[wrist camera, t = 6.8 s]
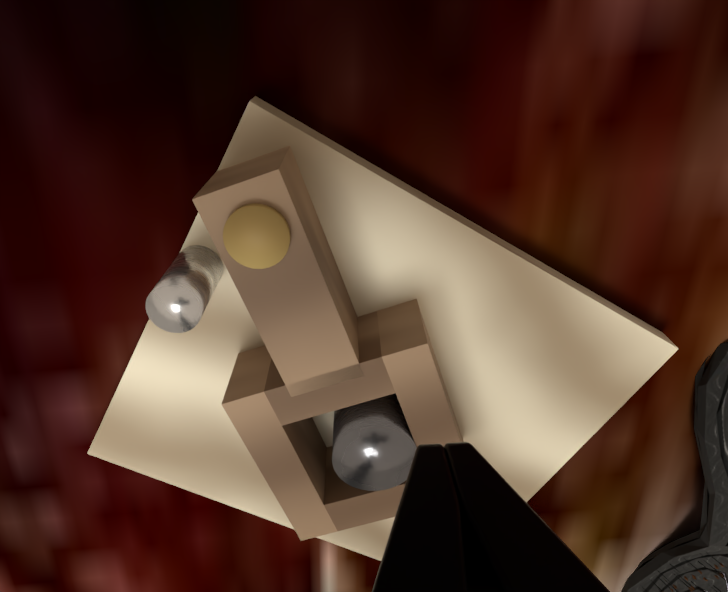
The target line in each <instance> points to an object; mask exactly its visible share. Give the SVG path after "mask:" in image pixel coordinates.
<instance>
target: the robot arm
mask: <svg viewBox="0 0 728 592" xmlns="http://www.w3.org/2000/svg"><path fill="white" fill-rule="evenodd" d="M372 592H610V591H609V590H608V589H607V588H606V587H605V586H604V585H603V584H602V583H601V582H600V581H599V580H598V578H597V577H596V576H595V575H594V574H593V573H592V572H591V571H590V570H589V569H588V568H587V567H586V566H585V565H584V564H583V562H582V561H581V560H580V559H579V558H578V557H577V556H576V555H575V554H574V553H573V552H572V551H571V550H570V549H569V548H568V546H567V545H566V544H565V543H564V542H563V541H562V540H561V539H560V538H559V537H558V536H557V535H556V534H555V533H554V532H553V531H552V529H551V528H550V527H549V526H548V525H547V524H546V523H545V522H544V521H543V520H542V519H541V518H540V517H539V516H538V515H537V513H536V512H535V511H534V510H533V509H532V508H531V507H530V506H529V505H528V504H527V503H526V502H525V501H524V500H523V499H522V497H521V496H520V495H519V494H518V493H517V492H516V491H515V490H514V489H513V488H512V487H511V486H510V485H509V484H508V483H507V481H506V480H505V479H504V478H503V477H502V476H501V475H500V474H499V473H498V472H497V471H496V470H495V469H494V468H493V467H492V466H491V464H490V463H489V462H488V461H487V460H486V459H485V458H484V457H483V456H482V455H481V454H480V453H479V452H478V451H477V450H476V448H475V447H474V446H473V445H472V444H470V443H468V442H454V443H446V444H445V445H444V447H443V445H442V444H439V443H436V444H421V445H419V446H418V447H417V448H416V451H415V454H414V458H413V461H412V464H411V467H410V470H409V474H408V477H407V480H406V483H405V487H404V490H403V493H402V496H401V499H400V503H399V506H398V509H397V512H396V515H395V519H394V522H393V525H392V528H391V531H390V535H389V538H388V541H387V544H386V547H385V551H384V554H383V557H382V560H381V564H380V567H379V570H378V573H377V576H376V580H375V583H374V586H373V589H372Z"/></svg>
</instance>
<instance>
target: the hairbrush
mask: <svg viewBox="0 0 728 592" xmlns="http://www.w3.org/2000/svg"><path fill="white" fill-rule="evenodd" d="M707 358H708V357H707ZM705 361H706V360H705ZM704 366H705V362H704V363H703V365H702V366H701V368H700V370H699V371H698V373H697V375H696V376H695V408H694V430H695V435H696V440H697V445H698V450H699V454H700V459H701V464H702V469H703V473H704V478H705V485H704V495H703V506H702V516H701V526H700V530H698V531H696V532H694V533H691V534H689V535H687V536H684V537H682V538H680V539H677V540H675V541H673V542H671V543H669V544H667V545H665V546H664V547H662V548H660V549H658V550H657V551H655V552H653V553H651V554H650V555H649V556H647V557H646V558H645V559H644V560H643V561H642V562H641V563H640V564H639V565H638V567H637V568H636V570H637V569H638V568H639V567H640V566H641V565H642V564H643V563H644V562H646V561H648V560H650V559H652V558H653V557H655V556H656V557H655V558H653V559H652V560H651V561H649V562H648V563H647V564H645V565H644V566H642V567H641V568H640V569H638V570H637V571H636V570H635V571H636V572H635V571H634V572H633V574H632V575H630V577H629V578H628V580H627V582H626V584H625V586H624V588H623V590H622V592H705V591H704V590H706V591H708V592H727V585H726V580H727V583H728V342H726V343H722V344H720V345H719V346H718V347H717V349H716V350H715V352H714V354H713V356H712V358H711V360H710V362H709V365H708V367H707V369H706V371H705V373H704V375H703V371H704ZM657 555H658V556H657ZM718 571H720V572H724V574H725V577H726V580H725V579H724V578H723V577H724V575H723V574H722V573H720V572H718ZM703 589H704V590H703Z"/></svg>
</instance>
